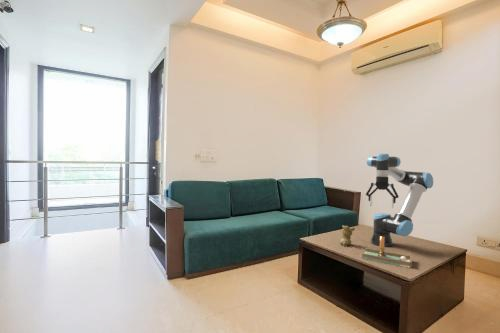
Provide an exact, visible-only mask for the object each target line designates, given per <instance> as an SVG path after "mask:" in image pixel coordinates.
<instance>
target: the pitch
mask: <svg viewBox="0 0 500 333" xmlns="http://www.w3.org/2000/svg"><path fill="white" fill-rule="evenodd" d="M364 249H365V251H364V253H363V252H362V253H361V258H362V259H364V260H368V261H373V262H379V263H383V264H388V265H393V266H398V267H399V266H400V267H405V268H409V269H412V265H413V254H412V255H409V254H408V255H407V254H403V253H397V252H391V251H386V250H384V254H385V252H387V257H380V256H378V254H379V249H375V248H374V249H373V248H368V247H365V248H364ZM401 256H405V257H406V259H407V260H406V261H402V260H401V258H400V257H401Z"/></svg>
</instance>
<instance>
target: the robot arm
mask: <svg viewBox="0 0 500 333" xmlns="http://www.w3.org/2000/svg"><path fill="white" fill-rule="evenodd" d="M401 162H402V161H401V158H400V157H398V156H390V154H388V153H377V154H376V156H374V155H373V156H368V158H367V160H366V164H367V166H368V167H373V168H375V169H376V173H375V174H376V177H375V181H376V182H371V184H370V186H369V187H368V190H367V192H366V193H365V196H367V197H368V202H369V206H370V207H372V206H373V205H372V204H373V202H372V201H373V194H374V193H376V191H377V190H382V191H387V193H388V194H389V195H390V196H391V197H392V198H391V209H394V208H395V207H394V205H395V204H396V199H398V198H399V194H398V192H397V190H396V188H395V186H394V185H395V184H394V183H389V176H390V177H391V178H393V179H394V180H395V181H396V182H398V183H400V184H403V185H404V186H408V187H409V190H408V192H407V194H406V196H405V199H404V201H403V202H402V204H401V206H400V209H399V211H398V212H397V213H395V214H394V216H392V215H391V214H390V213H376V214H374V215H373V233H372V235H371V238H370V243H371V244H372V245H375V246H378V247H380V236H384V247H393V245H394V244H393V242H394V241H393V239H392V236H391V234H395V235H398V236H403V237H406V236H407V237H408V236H409V235H411V233H412V232H413V229H414V223H413V220H412V216H413V214H414V213H415V210H416V208H417V206H418V204H419V202H420V199H421V197H422V195H423V193H426V192H427V190H428V189H431V188H433V186H434V178H433V175H432V174H431V173H430V172H423V171H422V172H421V171H407V170H406V171H405V170H403V169H399V168H398V167H400V165H401ZM374 186H376V187H375V188H374V189H373V190H372V188H373V187H374ZM388 187H390V188H391V189H392V191H391V190H390V189H389V188H388ZM371 190H372V191H371ZM393 193H394V194H393Z"/></svg>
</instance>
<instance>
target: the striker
mask: <svg viewBox="0 0 500 333" xmlns="http://www.w3.org/2000/svg"><path fill="white" fill-rule="evenodd" d="M378 247H379V249H378V250H379V254H378V256H380V257H387V252H388V251H386V252H385V254H384V251H385V246H384V236H380V246H378Z"/></svg>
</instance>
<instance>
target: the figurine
mask: <svg viewBox="0 0 500 333" xmlns="http://www.w3.org/2000/svg"><path fill="white" fill-rule="evenodd" d="M341 227H342V230H341V231H342V232H341V233H342V235H341V236H342V237H341V238H340V239H339V244H340V245H342V246H344V247H349V246H351V244H352V240H351V238H352V237H351V236H352V235H353V232H354V231H355V229H356V228H355V227H349V226H348V225H344V224H342V226H341Z"/></svg>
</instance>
